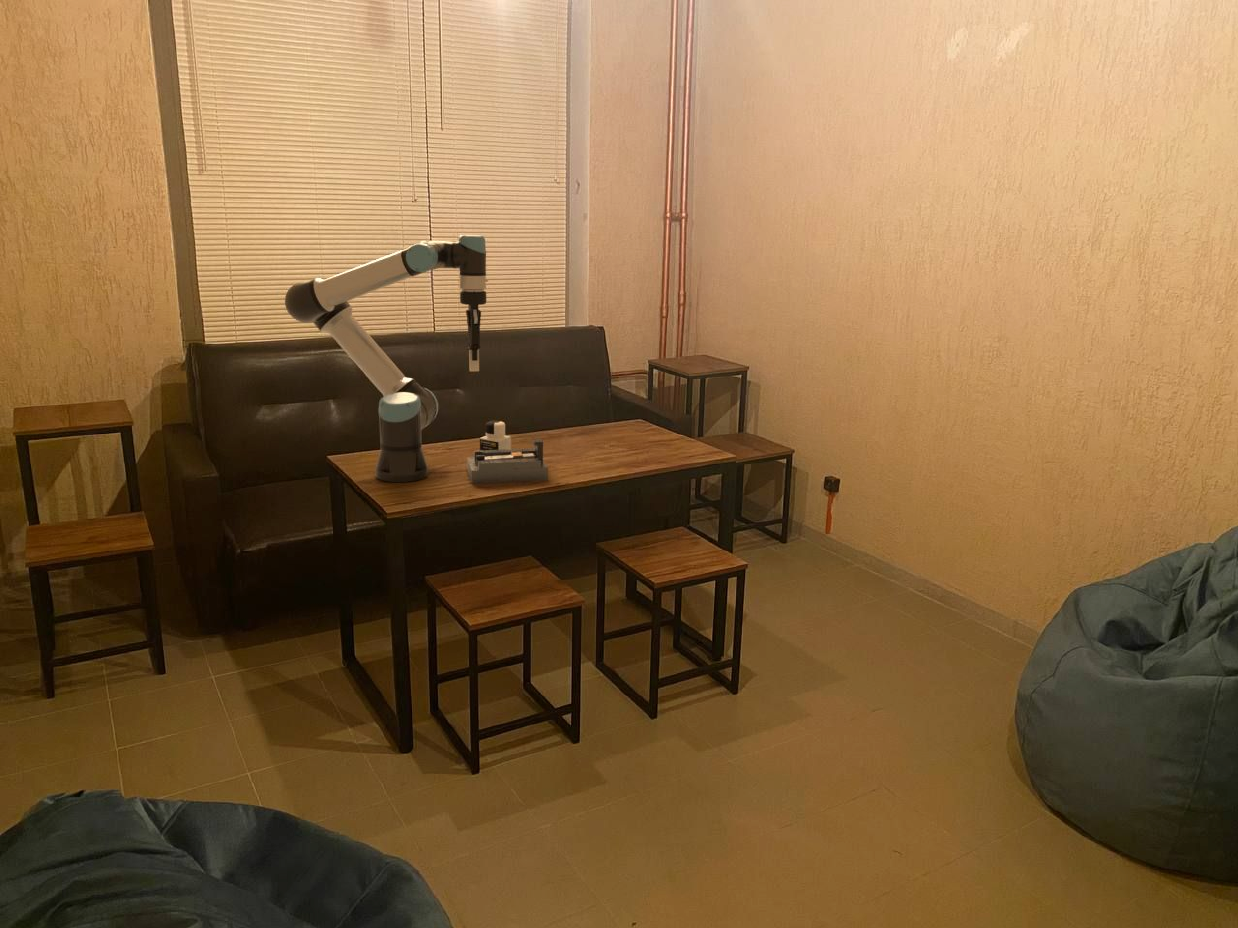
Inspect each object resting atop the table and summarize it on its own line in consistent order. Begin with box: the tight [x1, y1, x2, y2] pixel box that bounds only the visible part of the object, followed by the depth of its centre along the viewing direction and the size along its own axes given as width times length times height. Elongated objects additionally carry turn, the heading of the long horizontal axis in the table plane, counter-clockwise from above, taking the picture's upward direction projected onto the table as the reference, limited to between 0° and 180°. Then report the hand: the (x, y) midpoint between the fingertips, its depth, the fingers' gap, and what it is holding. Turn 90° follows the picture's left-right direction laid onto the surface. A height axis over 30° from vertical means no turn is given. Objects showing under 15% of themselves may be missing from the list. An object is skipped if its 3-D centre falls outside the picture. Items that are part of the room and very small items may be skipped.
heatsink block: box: [466, 437, 549, 485], centre depth 264 cm, size 22×14×10 cm, turn 105°
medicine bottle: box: [479, 420, 512, 451], centre depth 280 cm, size 7×7×12 cm
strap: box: [485, 452, 535, 461], centre depth 264 cm, size 17×4×2 cm, turn 105°
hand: (474, 370), depth 265 cm, fingers closed
